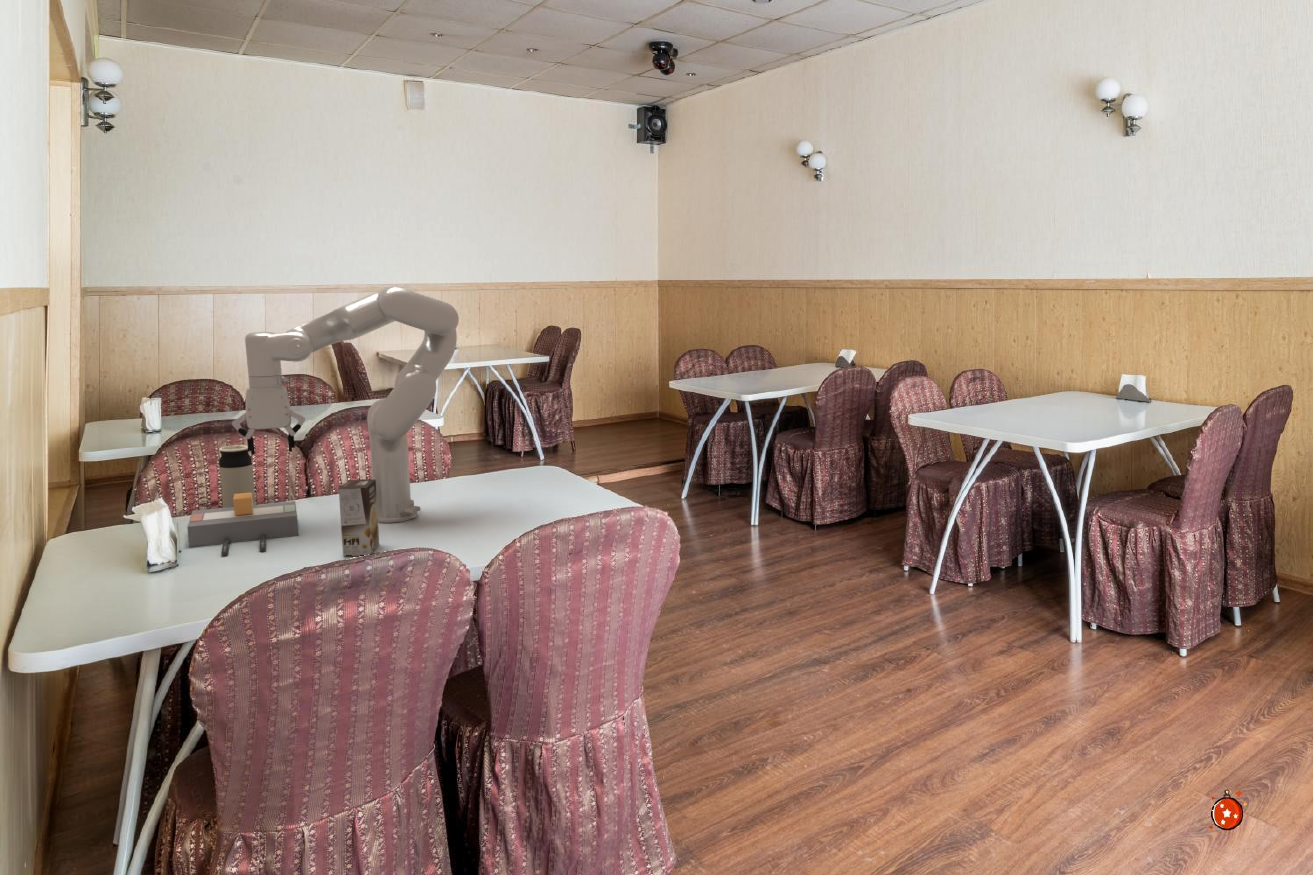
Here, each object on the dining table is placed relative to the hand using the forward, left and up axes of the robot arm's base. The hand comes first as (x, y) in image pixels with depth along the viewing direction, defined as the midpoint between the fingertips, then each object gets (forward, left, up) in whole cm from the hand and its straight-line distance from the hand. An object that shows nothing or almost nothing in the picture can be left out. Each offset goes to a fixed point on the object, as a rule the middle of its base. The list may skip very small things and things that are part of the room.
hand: (271, 452), depth 219 cm
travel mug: (+23, -6, -20) cm, 31 cm away
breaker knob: (+5, +6, -14) cm, 16 cm away
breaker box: (0, +9, -20) cm, 22 cm away
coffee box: (-32, +3, -20) cm, 38 cm away
